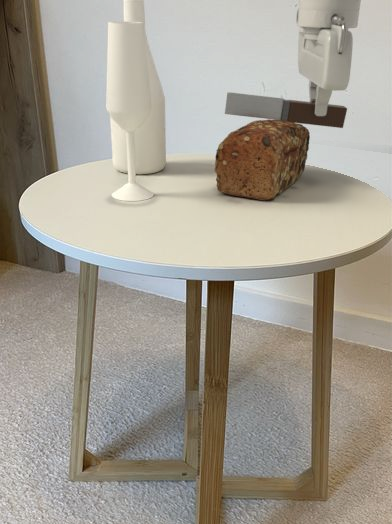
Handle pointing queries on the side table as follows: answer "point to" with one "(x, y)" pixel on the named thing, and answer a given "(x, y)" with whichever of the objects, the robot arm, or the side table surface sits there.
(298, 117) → the knife
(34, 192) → the side table surface
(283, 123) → the bread
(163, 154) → the wine bottle
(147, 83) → the champagne flute
